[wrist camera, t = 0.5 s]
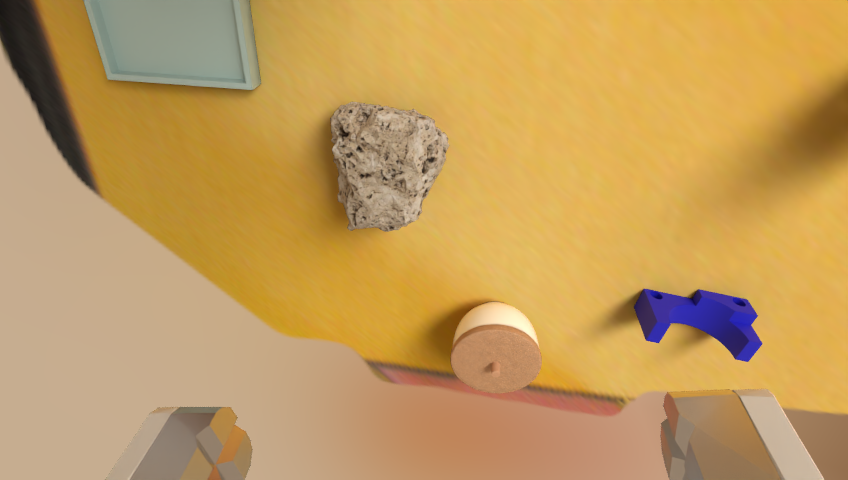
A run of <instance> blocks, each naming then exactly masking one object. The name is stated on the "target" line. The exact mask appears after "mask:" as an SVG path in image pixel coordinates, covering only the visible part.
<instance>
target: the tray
mask: <svg viewBox="0 0 848 480" xmlns="http://www.w3.org/2000/svg"><path fill="white" fill-rule="evenodd" d="M83 1H84V4H85V7H86V11H87V14H88V17H89V20H90V23H91V27H92V30H93V33H94V36H95V40H96V43H97V46H98V49H99V53H100V56H101V59H102V62H103V66H104V69H105V72H106V75H107V79H108V80H122V81H135V82H149V83H163V84H177V85H191V86H205V87H218V88H232V89H246V90H253V89H255V88H256V87H257V86H259V85H260V84H261V79H260V72H259V65H258V58H257V51H256V44H255V37H254V29H253V22H252V15H251V8H250V1H249V0H83Z"/></svg>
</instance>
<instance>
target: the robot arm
mask: <svg viewBox="0 0 848 480" xmlns="http://www.w3.org/2000/svg"><path fill="white" fill-rule="evenodd" d="M663 407H664V409H665V412H666V416H667V419H666V420H665V421H663V422H662V423H661V435H660V437H661V447H662V454H663V458H664V463H665V467H666V470H667V473H668V477H669V479H670V480H824V478H823V477H822V475H821V473H820V472H819V470H818V468H817V467H816V465H815V463H814V461H813V460H812V458H811V457H810V455H809V453H808V452H807V450H806V448H805V446H804V445H803V443H802V441H801V440H800V438H799V436H798V435H797V433H796V431H795V430H794V428H793V426H792V425H791V423H790V421H789V420H788V418H787V416H786V415H785V413H784V412H783V410H782V408H781V406H780V405H779V403H778V401H777V400H776V398H775V396H774V395H773V394H772V393H771V392H770V391H769V390H767V389H745V390H729V389H725V390H703V391H681V392H667V394H666V395H665V398H664V405H663ZM236 420H237V416H236V415H235V413H234V412H233V410H232V409H231V408H230V407H165V408H157V409H156V410H154V411H153V412H151V413H150V414H149V415H148V417H147V418H146V420H145V421H144V423H143V424H142V426H141V427H140V429H139V430H138V432H137V433H136V435H135V436H134V437H133V439H132V441H131V442H130V443H129V445H128V446H127V448H126V449H125V451H124V452H123V454H122V455H121V457H120V458H119V460H118V461H117V463H116V464H115V466H114V467H113V468H112V470H111V472H110V473H109V474H108V476H107V477H106V479H105V480H245V478H246V475H247V473H248V470H249V468H250V464H251V457H252V446H251V441H250V438H249V436H248V435H247V433H246V431H244V430H242V429H241V428H239V427H238V426H236V425H235V423H236Z"/></svg>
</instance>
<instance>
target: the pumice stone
mask: <svg viewBox="0 0 848 480" xmlns="http://www.w3.org/2000/svg"><path fill="white" fill-rule="evenodd" d="M330 121H331V133H332V140H331V141H332V142H333V143H334V144H335V145H334V146H333V149H332V151H333V154H334V161H333V162H334V163H336V165H337V168H338V172H339V176H338V179H337V180H338V183H339V193H338V202H341V203H343V205H344V208H345V210H346V214H347V217H348V219H349V225H348V227H347V228H348V229H349V230H350V231H352V230H354V229H363V228H373V227H377V228H379V229H381V230H383V231H392V230H399V229H400V228H401V227H403V226H407V225H408V224H409V223H411V222H414V221H415V220H417V219H418V217H419V216H420V214H421V213H422V209H421V207H422V201H423V199H424V198H426V197H427V195H428V192H429V190H430V188H431V187H432V185H433V183H434V181H435V179H436V177H437V176H438V175H439V173H440V171H441V170H442V167H443V164H444V162H445V160H446V156H445V153H446V151H447V149H448V147H449V144H448V142H447V141H448V138H447V136H446V134H445V133H444V132H443V133H442V131H441V130H440V129H438V128H437V127H435V121H434V120H433V119H431V118H429V117H428V116H425V115H421V114H420V113H418V112H417V111H416V110H415V109H412V110H409V111H405V110H403V111H402V110H399V109H395V108H390V107H388V106H384V107H381V106H380V105H371V104H365V103H357V102H350V103H348V104H346V105H341V106H340V107H339V109H337V110H336V111H335V113H334V114H333V116H332V117H331V118H330Z"/></svg>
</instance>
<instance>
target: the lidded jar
mask: <svg viewBox="0 0 848 480" xmlns="http://www.w3.org/2000/svg"><path fill="white" fill-rule="evenodd" d="M541 365H542V359H541V353H540V349H539V344H538V340H537V336H536V333H535V330H534V328H533V326H532V324H531V322H530V321H529V320H528V318H527V317H526V316H525V315H524V314H523V313H522V312H521V311H519V310H518V309H516V308H514V307H513V306H510V305H507V304H505V303H502V302H487V303H484V304H482V305H479V306H477V307H475V308H473V309H472V310H470V311H469V312H468V313H467V314H466V315H465V316H464V317H463V318H462V320H461V321H460V323H459V325H458V327H457V329H456V332H455V336H454V340H453V347H452V351H451V366H452V369H453V371H454V373H455V374H456V376H457V377H458V378H459V379H460V380H461V381H462V382H463V383H465V384H466V385H468V386H470V387H472V388H474V389H476V390H480V391H483V392H488V393H507V392H512V391H516V390H519V389H521V388H523V387H525V386H527V385H528V384H530V383H531V382H532V381H533V380H534V379H535V378H536V377H537V375H538V374H539V371H540V369H541Z"/></svg>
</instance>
